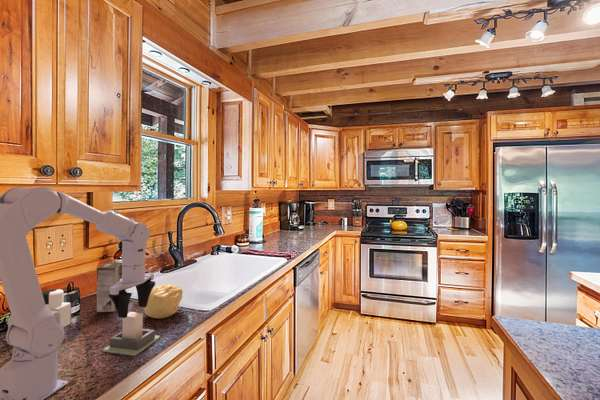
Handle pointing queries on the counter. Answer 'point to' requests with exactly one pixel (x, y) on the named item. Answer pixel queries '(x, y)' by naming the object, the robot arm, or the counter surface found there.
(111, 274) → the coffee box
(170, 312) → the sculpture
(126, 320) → the keyed plug
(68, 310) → the white stepped block
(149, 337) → the socket board
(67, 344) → the counter surface
